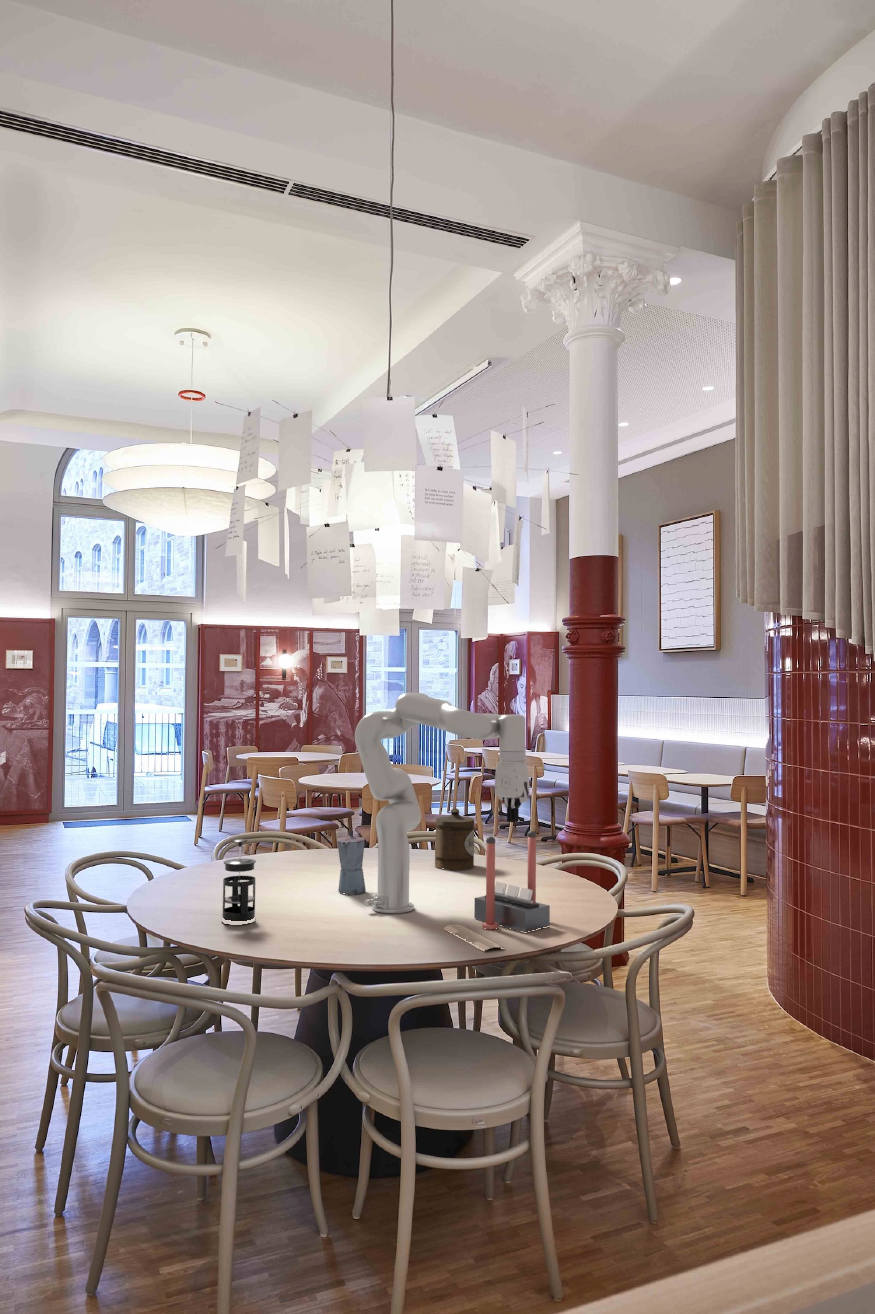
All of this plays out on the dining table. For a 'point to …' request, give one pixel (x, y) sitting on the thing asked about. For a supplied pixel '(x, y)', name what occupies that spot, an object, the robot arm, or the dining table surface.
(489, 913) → the near post
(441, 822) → the wooden container
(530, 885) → the far post
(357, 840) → the moka pot
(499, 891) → the breaker paddles
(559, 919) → the dining table surface
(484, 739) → the robot arm
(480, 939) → the beige flat board
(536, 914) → the box
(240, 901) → the french press
